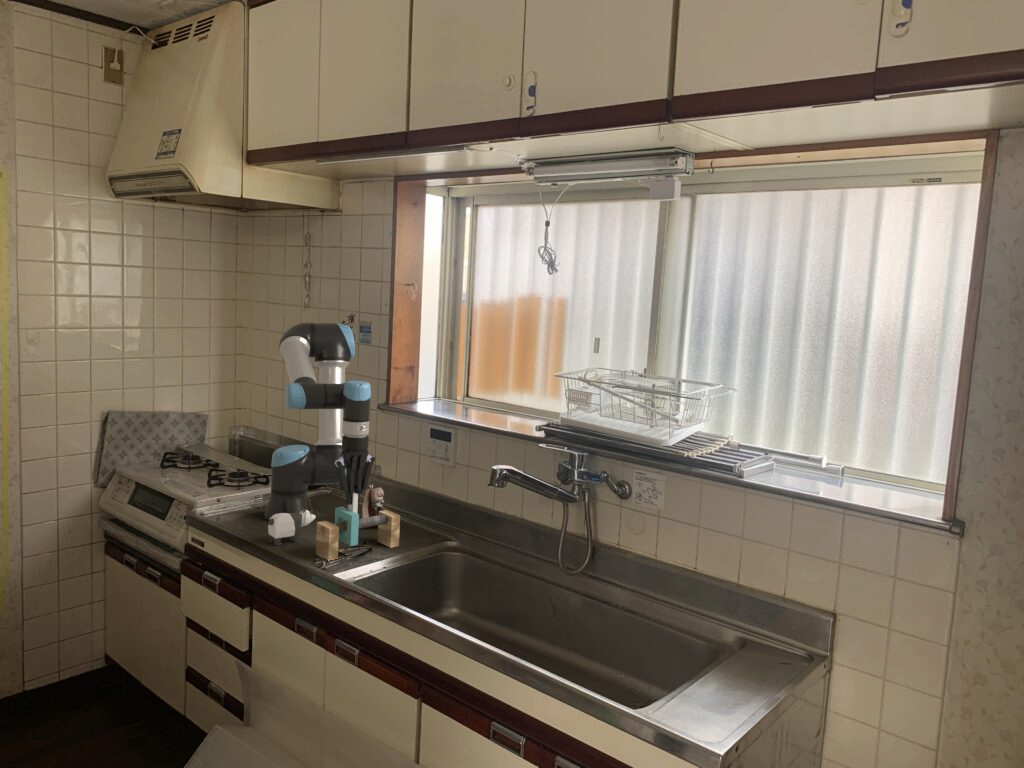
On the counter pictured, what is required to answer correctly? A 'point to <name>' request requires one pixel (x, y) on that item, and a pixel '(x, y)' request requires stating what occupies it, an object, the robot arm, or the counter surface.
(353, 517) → the collar
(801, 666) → the counter surface
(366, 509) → the toy
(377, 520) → the pipe stand
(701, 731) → the counter surface
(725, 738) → the counter surface
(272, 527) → the giant panda
